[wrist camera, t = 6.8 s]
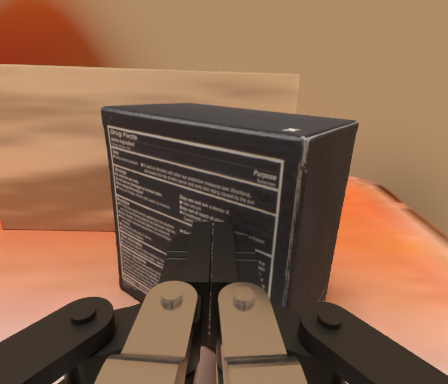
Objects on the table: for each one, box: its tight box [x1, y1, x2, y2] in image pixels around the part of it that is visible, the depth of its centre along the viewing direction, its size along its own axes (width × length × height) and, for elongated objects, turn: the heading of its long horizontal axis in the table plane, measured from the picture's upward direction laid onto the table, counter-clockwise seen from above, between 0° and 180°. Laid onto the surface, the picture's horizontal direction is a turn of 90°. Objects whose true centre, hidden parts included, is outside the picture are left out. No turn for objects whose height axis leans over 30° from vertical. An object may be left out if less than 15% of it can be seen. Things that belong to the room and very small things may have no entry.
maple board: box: [0, 64, 300, 231], centre depth 24 cm, size 4×22×12 cm, turn 91°
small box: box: [101, 103, 359, 351], centre depth 16 cm, size 11×6×10 cm, turn 54°
